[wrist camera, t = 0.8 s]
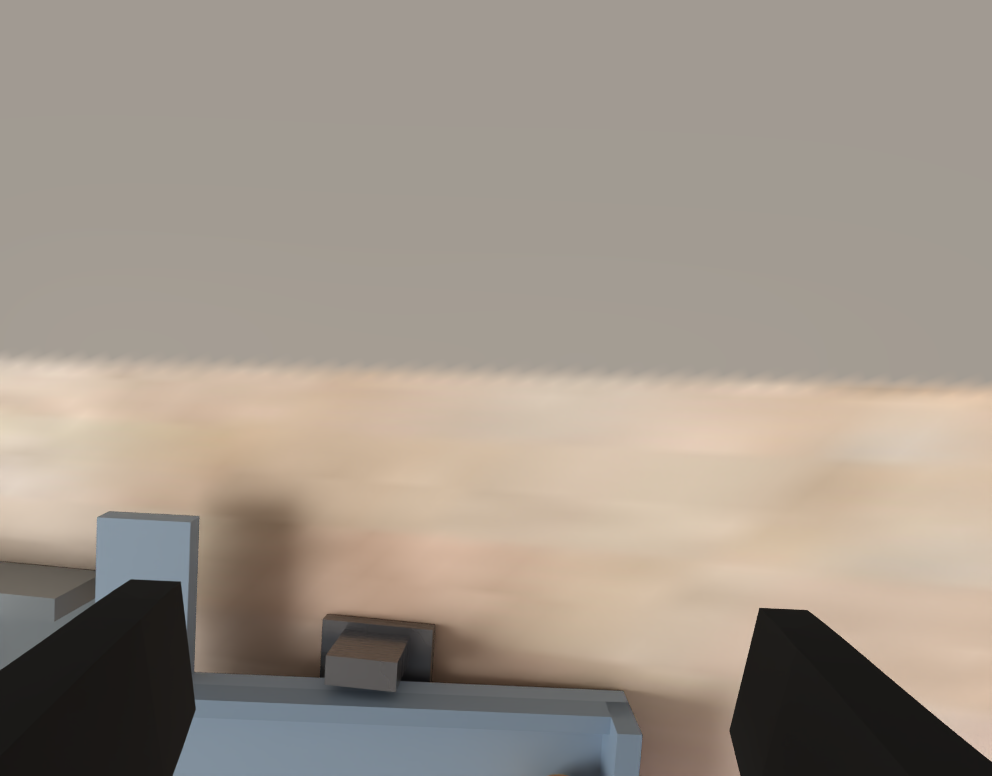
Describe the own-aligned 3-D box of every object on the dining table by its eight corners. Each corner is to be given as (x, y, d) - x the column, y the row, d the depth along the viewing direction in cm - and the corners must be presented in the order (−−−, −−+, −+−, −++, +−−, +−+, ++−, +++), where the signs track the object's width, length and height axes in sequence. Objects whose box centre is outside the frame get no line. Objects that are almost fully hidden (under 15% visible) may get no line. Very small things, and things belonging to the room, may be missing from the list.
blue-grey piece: (606, 873, 27) (624, 944, 23) (104, 857, 26) (55, 929, 23) (634, 537, 26) (657, 565, 22) (113, 509, 25) (63, 534, 22)
